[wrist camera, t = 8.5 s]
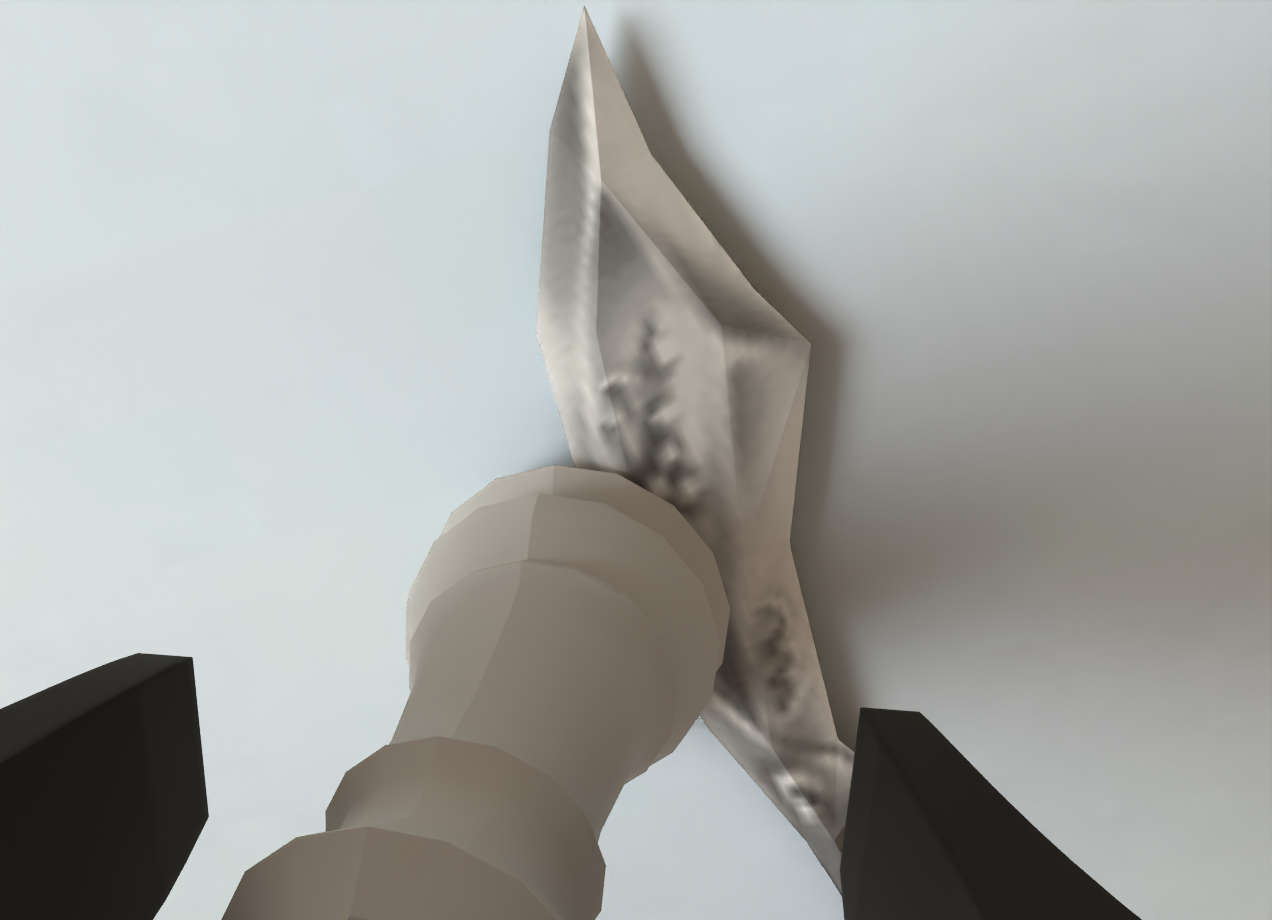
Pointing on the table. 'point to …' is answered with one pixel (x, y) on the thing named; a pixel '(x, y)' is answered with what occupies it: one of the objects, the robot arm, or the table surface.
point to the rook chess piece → (516, 710)
